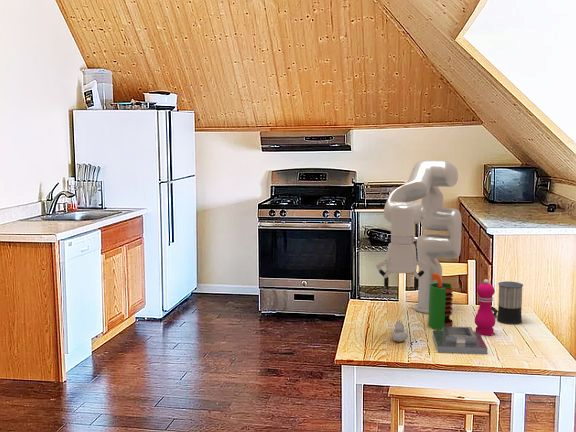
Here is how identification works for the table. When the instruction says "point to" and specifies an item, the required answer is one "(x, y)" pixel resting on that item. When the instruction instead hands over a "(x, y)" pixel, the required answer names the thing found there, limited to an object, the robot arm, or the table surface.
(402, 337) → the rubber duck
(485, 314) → the pepper mill
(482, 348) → the plate
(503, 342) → the table surface
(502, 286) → the milk frother
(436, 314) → the green round disc holder
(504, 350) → the table surface
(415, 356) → the table surface
